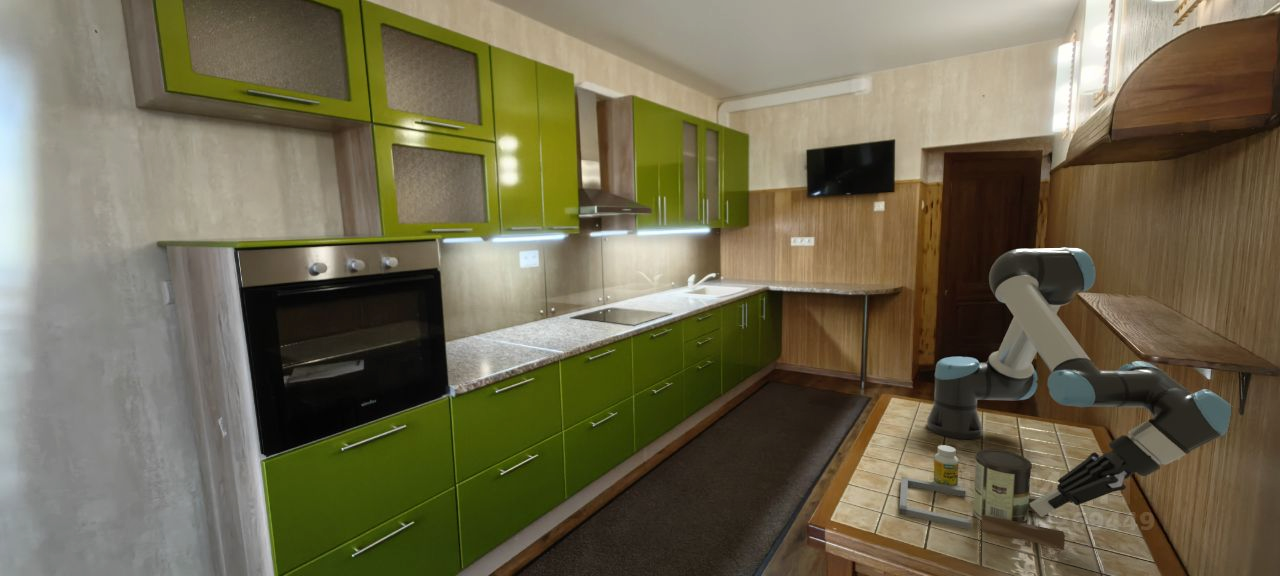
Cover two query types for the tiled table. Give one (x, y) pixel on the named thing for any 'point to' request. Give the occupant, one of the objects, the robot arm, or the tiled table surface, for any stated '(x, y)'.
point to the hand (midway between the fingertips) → (1035, 510)
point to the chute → (1023, 530)
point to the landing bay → (928, 514)
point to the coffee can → (1001, 485)
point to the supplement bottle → (946, 466)
